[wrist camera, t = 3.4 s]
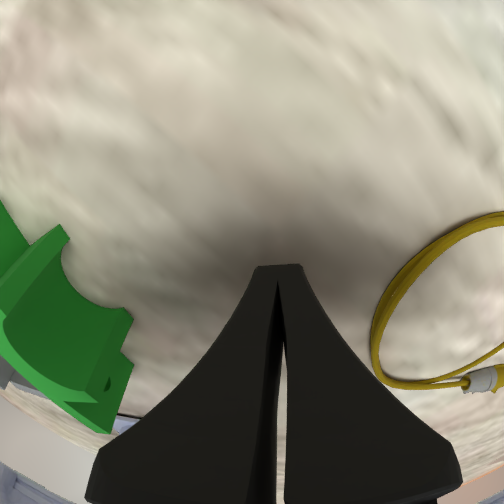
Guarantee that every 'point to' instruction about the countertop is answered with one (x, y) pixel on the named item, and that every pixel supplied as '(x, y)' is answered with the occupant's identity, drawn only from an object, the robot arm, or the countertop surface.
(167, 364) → the countertop surface
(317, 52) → the countertop surface
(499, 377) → the extension cord
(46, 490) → the robot arm
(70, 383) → the pipe clamp
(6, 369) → the pegged forked bracket
